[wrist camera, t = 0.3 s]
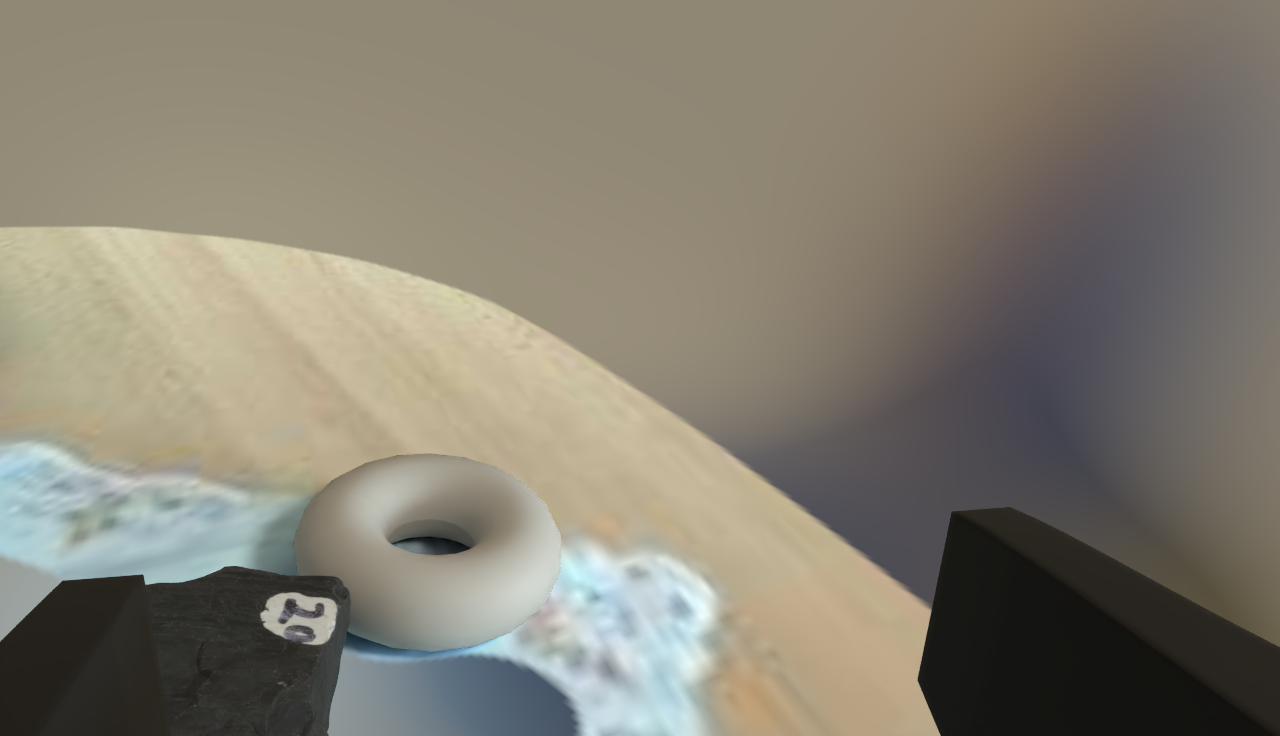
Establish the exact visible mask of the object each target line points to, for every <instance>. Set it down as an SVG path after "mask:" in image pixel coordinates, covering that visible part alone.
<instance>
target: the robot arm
mask: <svg viewBox="0 0 1280 736" xmlns="http://www.w3.org/2000/svg"><path fill="white" fill-rule="evenodd" d="M918 682H919V685H920V687H921V690H922V692H923V694H924V697H925V699H926V702H927V704H928V706H929V709H930V711H931V714H932V716H933V718H934V721H935V723H936V725H937V728H938V730H939V733H940V735H941V736H1280V647H1278V646H1276V645H1274V644H1272V643H1270V642H1268V641H1267V640H1264V639H1263V638H1261V637H1259V636H1257V635H1255V634H1253V633H1251V632H1249V631H1247V630H1245V629H1243V628H1241V627H1239V626H1237V625H1235V624H1233V623H1232V622H1230V621H1228V620H1226V619H1224V618H1222V617H1220V616H1218V615H1216V614H1215V613H1213V612H1211V611H1209V610H1207V609H1205V608H1203V607H1201V606H1200V605H1198V604H1196V603H1194V602H1192V601H1190V600H1189V599H1187V598H1185V597H1183V596H1181V595H1179V594H1177V593H1175V592H1174V591H1172V590H1170V589H1168V588H1166V587H1164V586H1163V585H1161V584H1159V583H1157V582H1155V581H1154V580H1152V579H1150V578H1148V577H1146V576H1144V575H1142V574H1140V573H1139V572H1137V571H1135V570H1133V569H1131V568H1130V567H1128V566H1126V565H1124V564H1122V563H1120V562H1119V561H1117V560H1115V559H1113V558H1111V557H1109V556H1107V555H1105V554H1104V553H1102V552H1100V551H1098V550H1096V549H1095V548H1093V547H1091V546H1089V545H1087V544H1085V543H1083V542H1081V541H1079V540H1077V539H1075V538H1074V537H1072V536H1070V535H1068V534H1066V533H1064V532H1062V531H1060V530H1058V529H1056V528H1054V527H1052V526H1050V525H1048V524H1046V523H1044V522H1042V521H1040V520H1037V519H1036V518H1034V517H1031V516H1029V515H1027V514H1025V513H1022V512H1020V511H1018V510H1015V509H1013V508H1010V507H1005V508H992V509H980V510H968V511H954V512H952V513H951V518H950V523H949V528H948V533H947V538H946V543H945V548H944V553H943V558H942V563H941V567H940V572H939V577H938V582H937V587H936V592H935V597H934V602H933V607H932V612H931V616H930V621H929V626H928V631H927V636H926V641H925V646H924V651H923V656H922V661H921V666H920V671H919V676H918ZM0 736H171V732H170V726H169V720H168V715H167V709H166V703H165V697H164V691H163V686H162V680H161V674H160V668H159V662H158V657H157V651H156V645H155V639H154V634H153V628H152V622H151V616H150V610H149V605H148V599H147V593H146V587H145V581H144V576H143V575H132V576H119V577H106V578H93V579H81V580H68V581H62V582H61V583H60V584H59V585H58V586H57V587H56V588H55V589H54V590H53V591H52V592H50V593H49V594H48V595H47V596H46V597H45V598H44V599H43V600H42V601H41V602H40V603H39V604H38V605H37V606H36V607H35V608H34V609H33V610H32V611H31V612H30V613H29V614H28V615H27V616H26V617H25V618H24V619H23V620H22V621H21V622H20V623H19V624H18V625H17V626H16V627H15V628H14V629H13V630H12V631H11V632H10V633H9V634H8V635H7V636H6V637H5V638H4V639H3V640H2V641H1V642H0Z"/></svg>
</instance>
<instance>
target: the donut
mask: <svg viewBox="0 0 1280 736" xmlns="http://www.w3.org/2000/svg"><path fill="white" fill-rule="evenodd" d="M425 536H428V537H438V538H446V539H449V540H453V541H456V542H459V543H462V544H464V545H466V546H467V547H469V548H471V549H469V550H466V551H463V552H460V553H457V554H446V555H427V554H418V553H413V552H410V551H407V550H403V549H400V548H397V547H395V546H394V545H392V543H394V542H396V541H400V540H403V539H407V538H413V537H425ZM293 545H294V552H295V559H296V566H297V573H298V576H310V575H321V576H335V577H338V578H339V579H341V581H342V582H343V585H344V586H345V587H346V588H347V589H348V590H349V592H350V599H351V605H350V623H349V627H348V630H347V631H348V632H349V633H351V634H353V635H356V636H358V637H361V638H364V639H367V640H370V641H373V642H376V643H379V644H382V645H385V646H388V647H391V648H398V649H408V650H419V651H429V652H434V651H442V650H450V649H458V648H467V647H472V646H476V645H479V644H481V643H484V642H487V641H489V640H492V639H495V638H497V637H500V636H503V635H505V634H508V633H510V632H512V631H513V630H514V629H516V628H517V627H518V626H519V625H521V624H522V623H523V622H525V621H526V620H527V619H529V618H530V617H531V616H533V615H534V614H535V613H536V612H537V611H538V610H539V609H540V608H541V607H542V606H543V604H544V602H545V601H546V599H547V597H548V596H549V594H550V592H551V590H552V589H553V587H554V585H555V584H556V582H557V579H558V576H559V574H560V566H561V535H560V533H559V531H558V528H557V526H556V524H555V522H554V520H553V518H552V516H551V514H550V511H549V509H548V507H547V505H546V504H545V503H544V502H543V501H542V500H541V499H540V498H539V497H538V496H537V495H536V494H535V493H534V492H533V491H532V490H531V489H530V488H529V487H527V486H526V485H525V484H524V483H523V482H522V481H520V480H519V479H517V478H515V477H513V476H511V475H509V474H507V473H506V472H504V471H502V470H500V469H498V468H496V467H494V466H491V465H488V464H484V463H481V462H478V461H474V460H471V459H468V458H464V457H456V456H447V455H438V454H415V455H397V456H393V457H389V458H385V459H380V460H376V461H372V462H368V463H365V464H363V465H361V466H359V467H357V468H355V469H353V470H351V471H349V472H347V473H345V474H343V475H341V476H339V477H337V478H335V479H334V480H332V481H331V482H330V483H329V484H328V485H327V486H326V487H325V488H324V489H323V490H321V491H320V492H319V493H318V494H317V495H316V496H315V497H314V498H313V499H312V500H311V502H310V503H309V504H308V506H307V507H306V509H305V511H304V514H303V516H302V519H301V521H300V524H299V526H298V529H297V531H296V534H295V539H294V543H293Z"/></svg>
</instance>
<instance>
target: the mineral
mask: <svg viewBox="0 0 1280 736" xmlns="http://www.w3.org/2000/svg"><path fill="white" fill-rule="evenodd" d="M145 587H146V593H147V599H148V605H149V610H150V616H151V622H152V628H153V634H154V639H155V645H156V651H157V657H158V662H159V668H160V674H161V680H162V686H163V691H164V697H165V703H166V709H167V715H168V720H169V726H170V732H171V736H328V734H327V730H328V727H329V713H330V707H331V702H332V698H333V695H334V691H335V687H336V684H337V679H338V674H339V668H340V659H341V655H342V650H343V646H344V642H345V638H346V634H347V630H348V627H349V623H350V605H351V599H350V592H349V590H348V589H347V588H346V587H345V586H344V585H343V582H342V581H341V579H339V578H338V577H335V576H321V575H310V576H286V575H279V574H277V573H272V572H267V571H261V570H254V569H248V568H244V567H238V566H229V567H224V568H222V569H221V570H219V571H216V572H214V573H211V574H209V575H206V576H204V577H201V578H198V579H195V580H190V581H186V582H180V583H156V584H149V585H145Z"/></svg>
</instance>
